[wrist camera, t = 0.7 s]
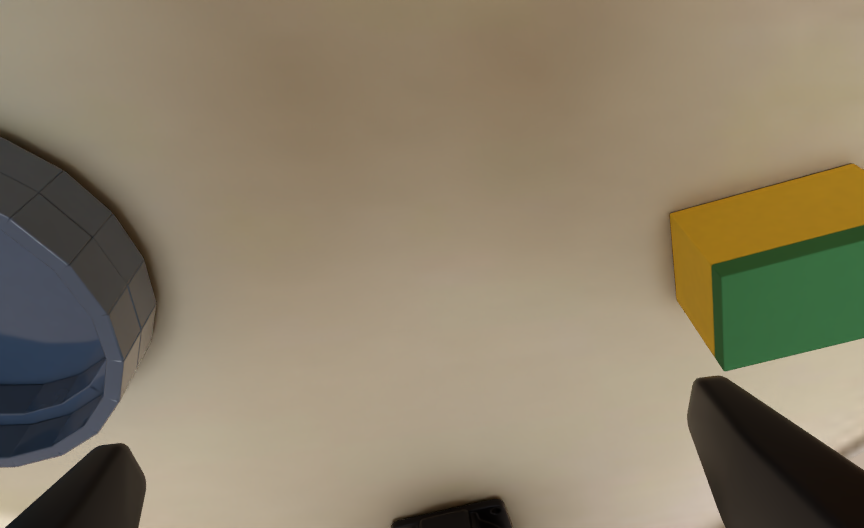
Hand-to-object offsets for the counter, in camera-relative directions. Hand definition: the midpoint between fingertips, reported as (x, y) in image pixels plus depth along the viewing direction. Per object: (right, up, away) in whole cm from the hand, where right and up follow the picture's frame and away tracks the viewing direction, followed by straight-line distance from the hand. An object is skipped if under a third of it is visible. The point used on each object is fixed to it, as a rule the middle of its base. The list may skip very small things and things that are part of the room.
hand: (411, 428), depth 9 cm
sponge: (+14, +4, +15) cm, 21 cm away
